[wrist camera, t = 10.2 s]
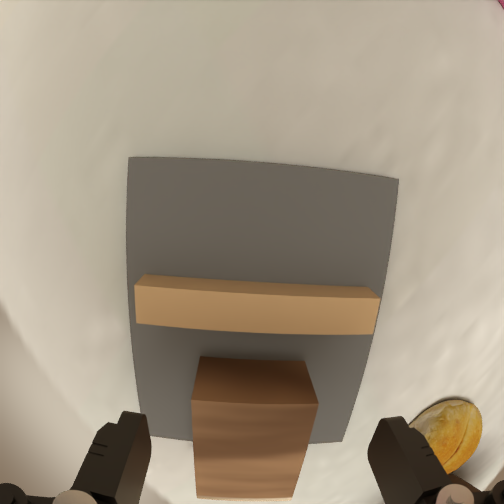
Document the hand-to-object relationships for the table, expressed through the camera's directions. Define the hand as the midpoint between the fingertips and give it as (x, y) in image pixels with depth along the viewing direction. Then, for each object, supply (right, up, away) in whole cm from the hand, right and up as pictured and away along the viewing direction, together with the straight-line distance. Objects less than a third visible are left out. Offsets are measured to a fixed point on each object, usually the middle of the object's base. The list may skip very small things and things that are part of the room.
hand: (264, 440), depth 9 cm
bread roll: (+15, -9, +12) cm, 22 cm away
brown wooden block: (0, 0, +6) cm, 6 cm away
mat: (0, +2, +8) cm, 9 cm away
